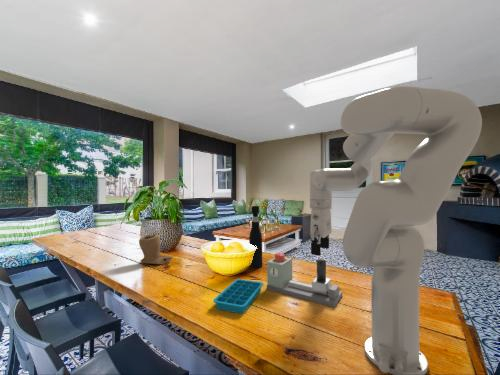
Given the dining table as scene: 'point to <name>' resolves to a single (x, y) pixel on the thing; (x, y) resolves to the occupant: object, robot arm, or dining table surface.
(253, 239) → the wine bottle
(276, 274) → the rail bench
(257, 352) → the dining table surface
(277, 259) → the button
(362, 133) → the robot arm
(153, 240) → the brown boot
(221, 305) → the ice cube tray
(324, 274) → the carriage
